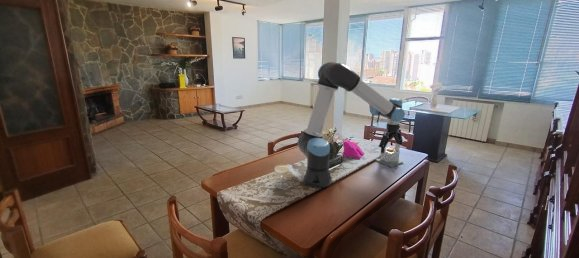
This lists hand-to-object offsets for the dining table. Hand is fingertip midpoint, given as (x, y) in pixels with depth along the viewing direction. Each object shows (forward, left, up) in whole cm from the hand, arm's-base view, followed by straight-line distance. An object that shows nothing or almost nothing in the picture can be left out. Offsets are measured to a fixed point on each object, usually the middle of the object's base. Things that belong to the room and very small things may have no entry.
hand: (389, 155), depth 172 cm
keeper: (0, 0, -5) cm, 5 cm away
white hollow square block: (0, 0, -4) cm, 4 cm away
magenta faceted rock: (-10, +21, -5) cm, 24 cm away
